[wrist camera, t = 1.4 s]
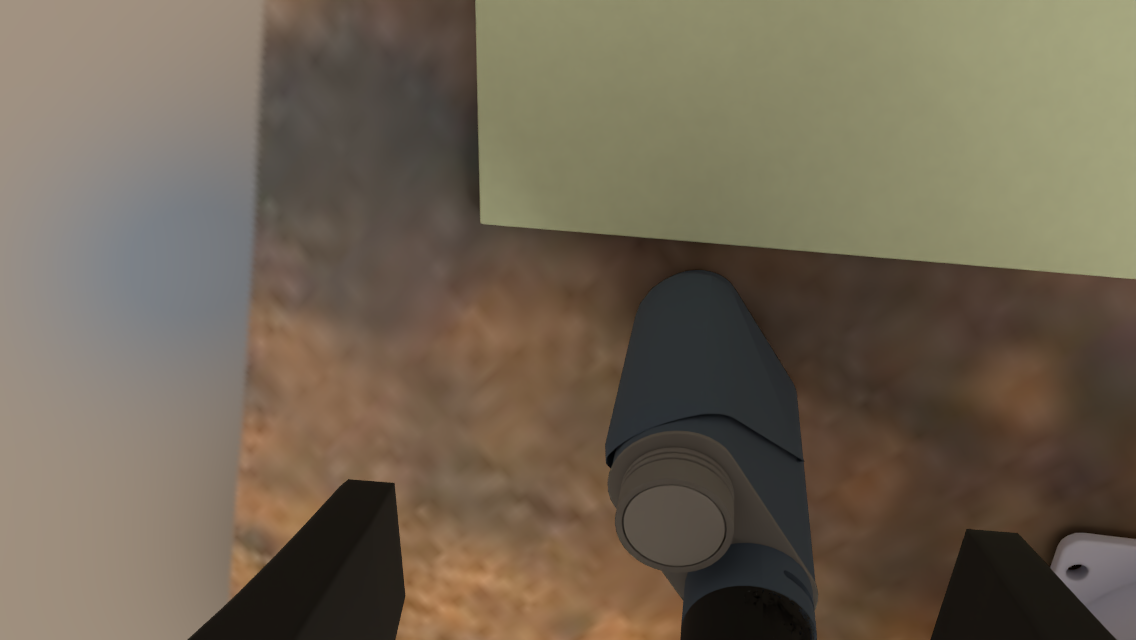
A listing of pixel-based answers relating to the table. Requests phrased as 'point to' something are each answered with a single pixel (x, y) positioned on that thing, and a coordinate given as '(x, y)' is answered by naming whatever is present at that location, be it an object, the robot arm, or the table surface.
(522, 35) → the tray
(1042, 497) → the table surface
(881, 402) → the table surface
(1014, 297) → the table surface
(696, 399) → the vaping device
